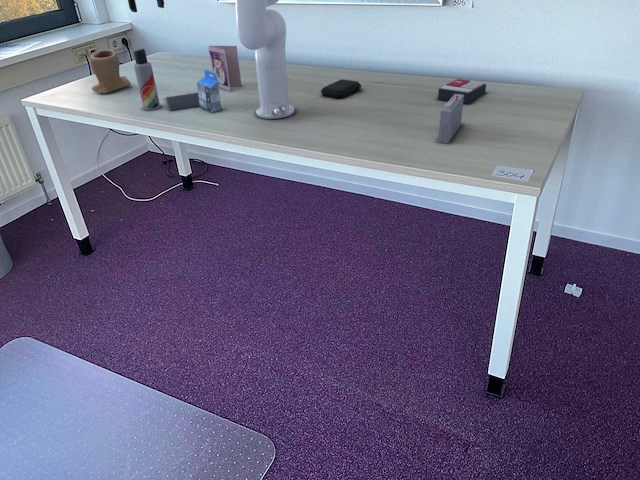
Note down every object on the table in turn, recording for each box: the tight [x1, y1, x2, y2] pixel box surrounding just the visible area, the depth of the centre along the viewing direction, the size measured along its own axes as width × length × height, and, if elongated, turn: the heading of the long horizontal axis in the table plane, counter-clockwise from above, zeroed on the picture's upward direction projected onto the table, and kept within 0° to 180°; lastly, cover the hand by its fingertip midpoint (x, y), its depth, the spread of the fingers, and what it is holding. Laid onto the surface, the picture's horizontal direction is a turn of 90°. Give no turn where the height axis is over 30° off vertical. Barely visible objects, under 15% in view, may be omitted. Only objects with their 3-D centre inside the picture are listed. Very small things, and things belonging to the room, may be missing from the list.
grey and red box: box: [437, 78, 487, 105], centre depth 178 cm, size 11×4×15 cm
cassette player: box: [437, 94, 464, 144], centre depth 148 cm, size 16×3×10 cm, turn 154°
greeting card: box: [207, 45, 243, 92], centre depth 198 cm, size 11×7×15 cm, turn 42°
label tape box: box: [196, 68, 222, 113], centre depth 176 cm, size 9×4×12 cm, turn 40°
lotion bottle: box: [133, 48, 161, 111], centre depth 179 cm, size 6×6×20 cm
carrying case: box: [320, 78, 362, 99], centre depth 188 cm, size 11×3×15 cm
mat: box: [166, 92, 202, 112], centre depth 188 cm, size 16×14×1 cm
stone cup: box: [89, 49, 131, 94], centre depth 202 cm, size 15×12×15 cm
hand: (148, 9), depth 173 cm, fingers open, 9 cm apart
